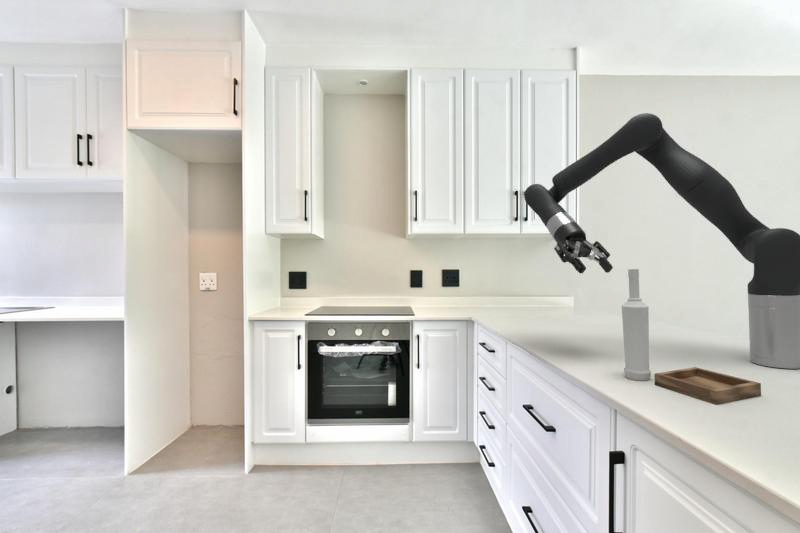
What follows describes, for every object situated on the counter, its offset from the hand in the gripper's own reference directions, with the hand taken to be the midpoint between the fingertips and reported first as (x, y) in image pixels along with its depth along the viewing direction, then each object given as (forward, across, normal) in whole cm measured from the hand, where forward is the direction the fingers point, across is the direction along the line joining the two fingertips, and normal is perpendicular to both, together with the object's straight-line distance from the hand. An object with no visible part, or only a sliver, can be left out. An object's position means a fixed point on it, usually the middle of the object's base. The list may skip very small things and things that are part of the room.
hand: (596, 270), depth 95 cm
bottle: (+26, -1, +9) cm, 27 cm away
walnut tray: (+34, +4, +1) cm, 34 cm away
